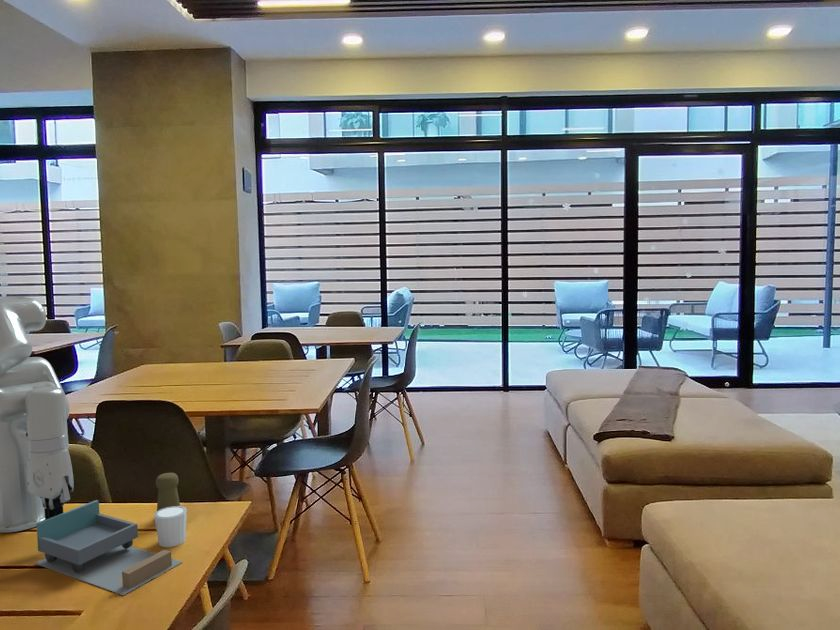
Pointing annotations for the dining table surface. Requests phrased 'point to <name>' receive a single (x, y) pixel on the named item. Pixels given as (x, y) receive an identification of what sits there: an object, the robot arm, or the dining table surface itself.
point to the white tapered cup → (171, 525)
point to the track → (118, 568)
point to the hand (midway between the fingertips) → (54, 523)
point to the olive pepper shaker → (167, 490)
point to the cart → (83, 535)
